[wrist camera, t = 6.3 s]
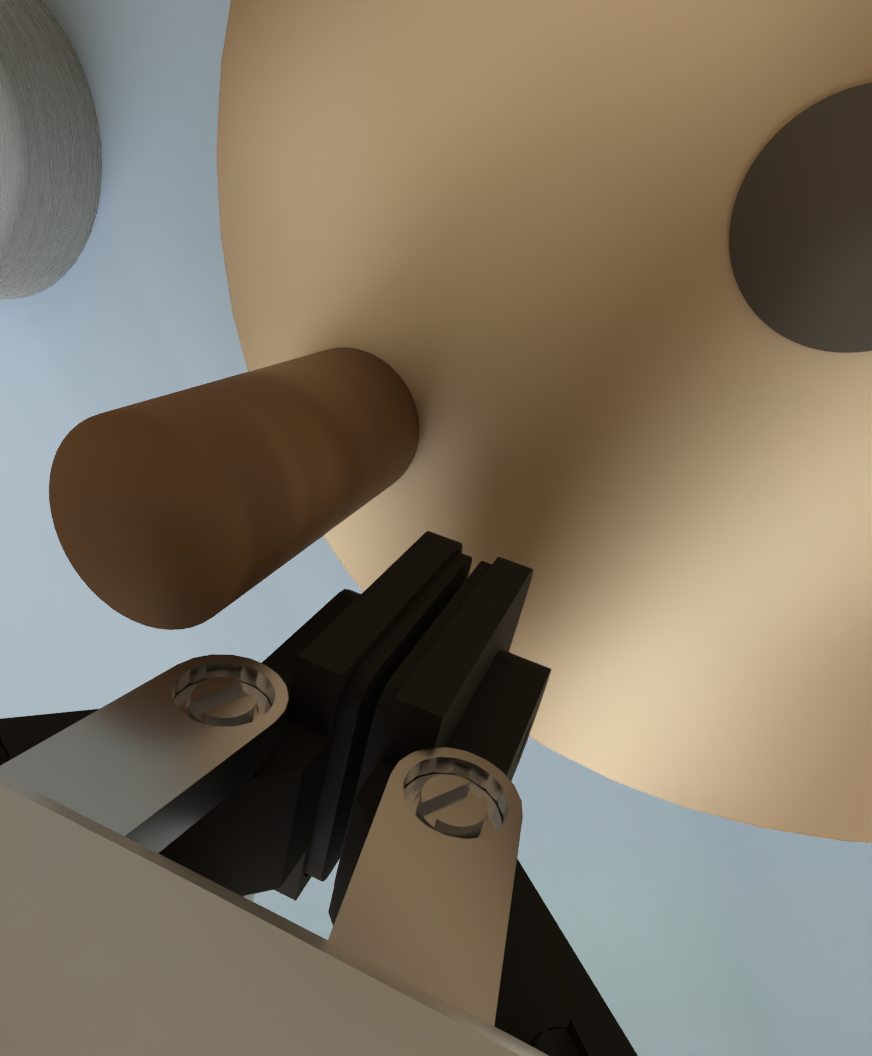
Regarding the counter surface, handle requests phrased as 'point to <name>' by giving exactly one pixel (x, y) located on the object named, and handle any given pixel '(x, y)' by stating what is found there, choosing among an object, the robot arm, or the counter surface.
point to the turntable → (547, 366)
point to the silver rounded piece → (43, 151)
